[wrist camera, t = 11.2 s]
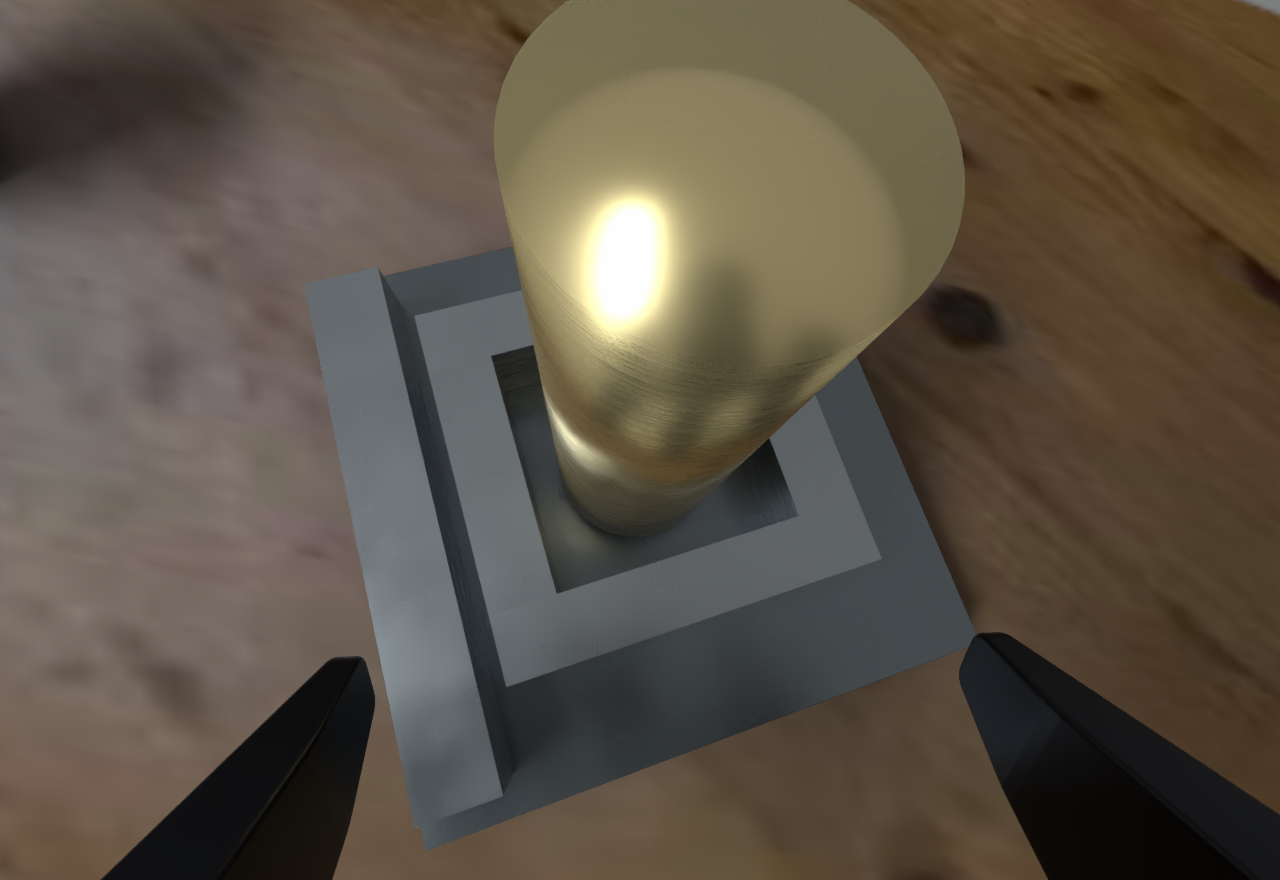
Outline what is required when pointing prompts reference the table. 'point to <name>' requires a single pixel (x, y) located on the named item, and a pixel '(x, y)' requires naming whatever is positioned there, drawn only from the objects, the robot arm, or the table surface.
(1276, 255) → the table surface
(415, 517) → the jig
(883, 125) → the sleeve
